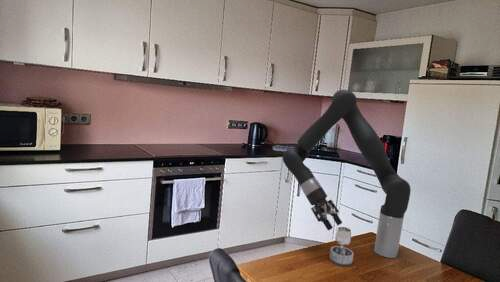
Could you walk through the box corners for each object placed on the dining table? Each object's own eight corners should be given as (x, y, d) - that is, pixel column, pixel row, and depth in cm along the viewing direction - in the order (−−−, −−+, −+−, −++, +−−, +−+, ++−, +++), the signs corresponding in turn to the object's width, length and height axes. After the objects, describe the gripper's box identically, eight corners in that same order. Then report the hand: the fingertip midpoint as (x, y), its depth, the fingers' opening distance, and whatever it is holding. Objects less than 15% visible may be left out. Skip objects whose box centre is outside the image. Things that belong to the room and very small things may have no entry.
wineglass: (348, 263, 129) (352, 233, 127) (332, 260, 130) (337, 230, 128) (347, 256, 135) (351, 227, 133) (332, 253, 136) (336, 225, 134)
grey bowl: (331, 253, 138) (333, 244, 138) (353, 259, 135) (354, 250, 134) (327, 262, 130) (328, 252, 130) (350, 268, 127) (351, 258, 126)
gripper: (311, 189, 131) (334, 226, 126) (328, 184, 142) (350, 218, 137) (298, 198, 135) (320, 235, 130) (315, 193, 146) (336, 226, 141)
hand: (335, 226), depth 133 cm, fingers open, 8 cm apart
